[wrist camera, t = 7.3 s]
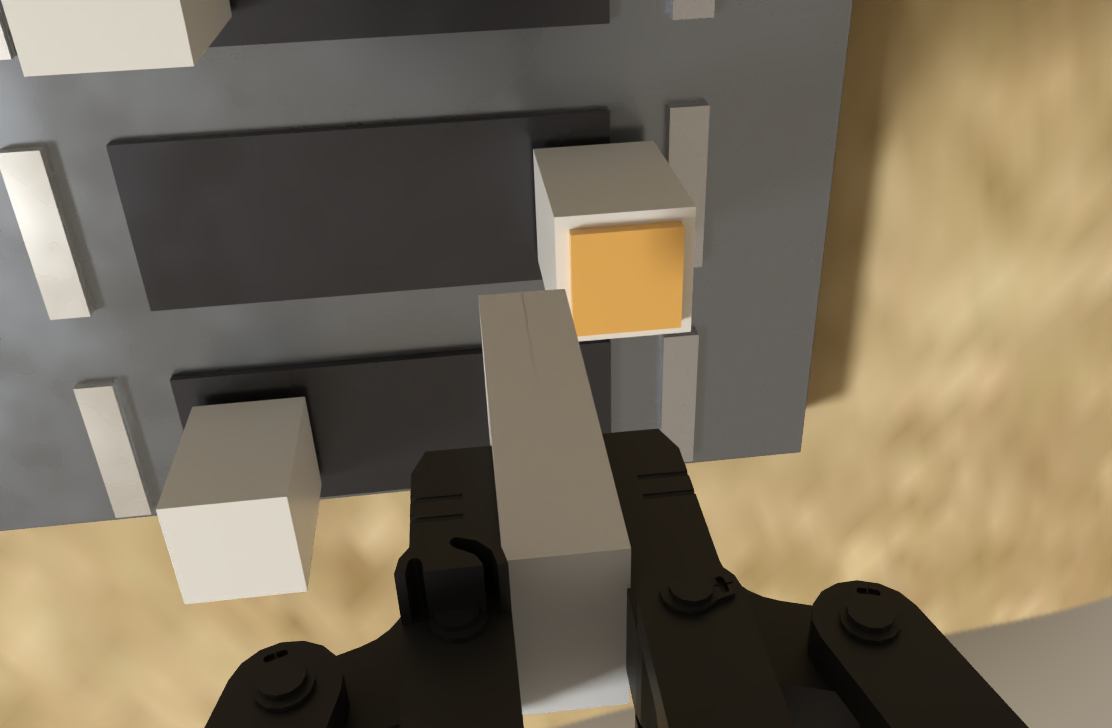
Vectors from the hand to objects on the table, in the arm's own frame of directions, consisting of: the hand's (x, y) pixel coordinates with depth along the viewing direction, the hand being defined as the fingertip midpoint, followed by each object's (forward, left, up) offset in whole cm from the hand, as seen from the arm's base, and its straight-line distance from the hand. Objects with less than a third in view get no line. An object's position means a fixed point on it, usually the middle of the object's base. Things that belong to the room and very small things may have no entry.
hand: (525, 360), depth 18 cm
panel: (+1, -3, -11) cm, 11 cm away
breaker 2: (+7, -7, -8) cm, 13 cm away
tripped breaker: (+1, +3, -8) cm, 9 cm away
